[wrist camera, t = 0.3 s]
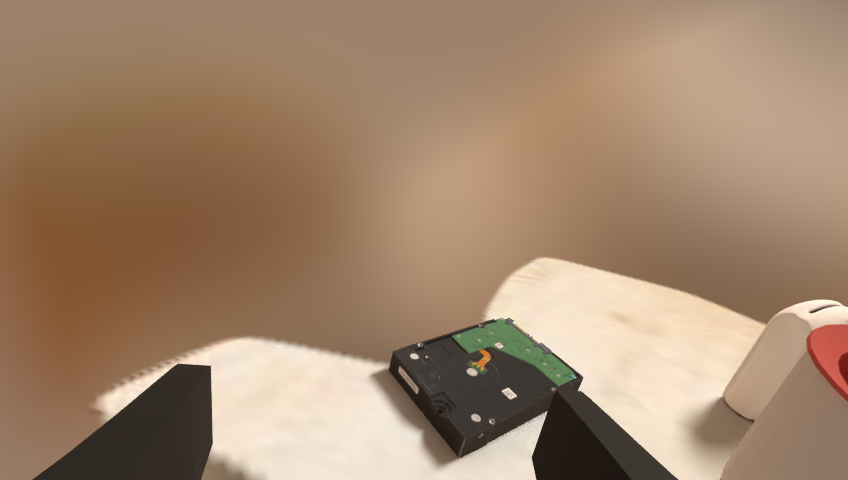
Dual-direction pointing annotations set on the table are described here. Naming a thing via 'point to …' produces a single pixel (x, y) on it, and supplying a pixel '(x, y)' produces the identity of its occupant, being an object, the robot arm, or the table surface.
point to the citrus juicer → (802, 419)
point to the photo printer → (778, 354)
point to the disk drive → (481, 381)
